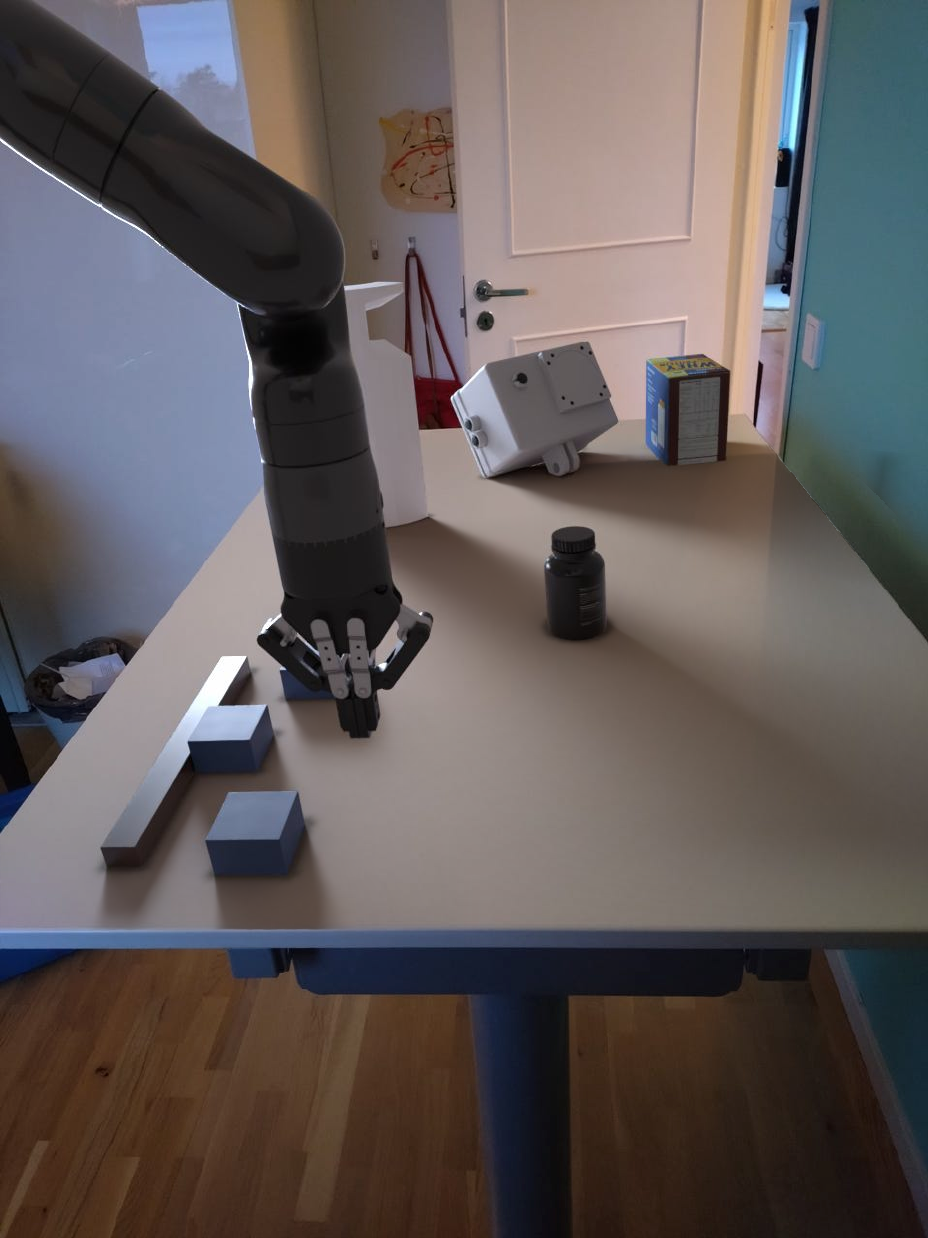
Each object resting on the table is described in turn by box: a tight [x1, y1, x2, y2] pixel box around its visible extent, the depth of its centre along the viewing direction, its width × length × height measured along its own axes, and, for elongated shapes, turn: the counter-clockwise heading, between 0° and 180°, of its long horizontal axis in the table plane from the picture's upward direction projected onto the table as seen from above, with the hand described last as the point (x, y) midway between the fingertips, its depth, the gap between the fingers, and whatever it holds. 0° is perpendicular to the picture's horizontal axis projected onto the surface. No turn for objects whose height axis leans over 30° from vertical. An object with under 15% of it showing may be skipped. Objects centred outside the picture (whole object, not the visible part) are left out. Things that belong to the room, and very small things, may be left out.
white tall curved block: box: [344, 281, 429, 528], centre depth 136 cm, size 35×11×21 cm
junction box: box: [450, 341, 619, 479], centre depth 153 cm, size 24×15×22 cm
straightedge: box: [99, 655, 252, 868], centre depth 86 cm, size 3×31×2 cm, turn 175°
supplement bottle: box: [543, 525, 608, 641], centre depth 101 cm, size 7×7×12 cm
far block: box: [279, 641, 335, 700], centre depth 96 cm, size 6×6×4 cm
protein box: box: [645, 353, 731, 467], centre depth 155 cm, size 10×15×16 cm
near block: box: [204, 790, 306, 876], centre depth 73 cm, size 6×6×4 cm
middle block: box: [187, 704, 275, 774], centre depth 86 cm, size 6×6×4 cm
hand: (362, 732), depth 67 cm, fingers closed
